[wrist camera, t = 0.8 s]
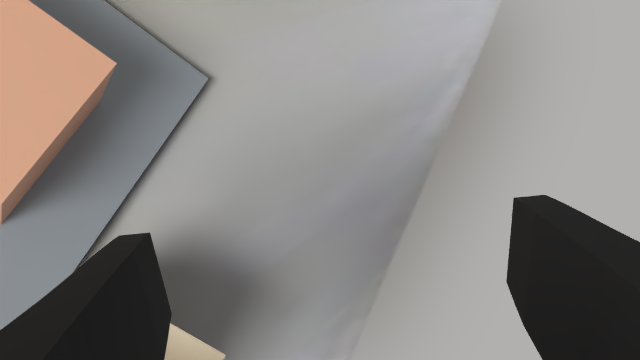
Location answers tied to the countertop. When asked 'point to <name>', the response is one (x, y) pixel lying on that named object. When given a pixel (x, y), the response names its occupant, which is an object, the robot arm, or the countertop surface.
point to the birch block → (188, 347)
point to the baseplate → (93, 154)
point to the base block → (41, 93)
